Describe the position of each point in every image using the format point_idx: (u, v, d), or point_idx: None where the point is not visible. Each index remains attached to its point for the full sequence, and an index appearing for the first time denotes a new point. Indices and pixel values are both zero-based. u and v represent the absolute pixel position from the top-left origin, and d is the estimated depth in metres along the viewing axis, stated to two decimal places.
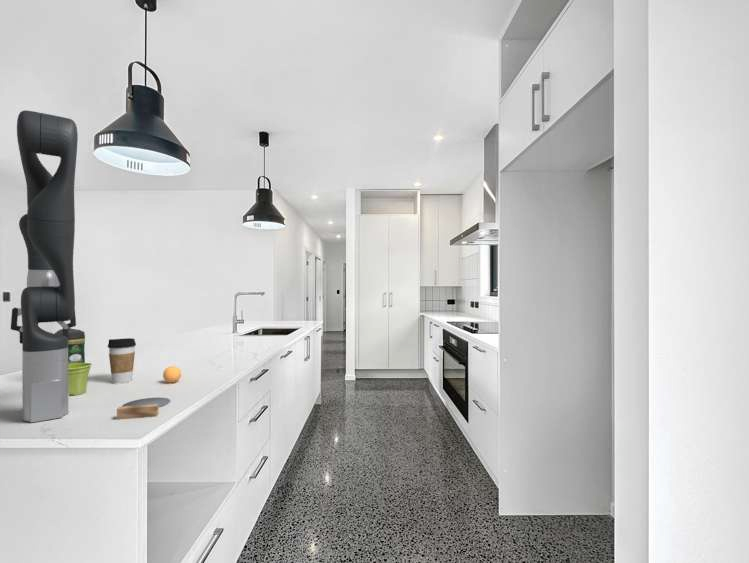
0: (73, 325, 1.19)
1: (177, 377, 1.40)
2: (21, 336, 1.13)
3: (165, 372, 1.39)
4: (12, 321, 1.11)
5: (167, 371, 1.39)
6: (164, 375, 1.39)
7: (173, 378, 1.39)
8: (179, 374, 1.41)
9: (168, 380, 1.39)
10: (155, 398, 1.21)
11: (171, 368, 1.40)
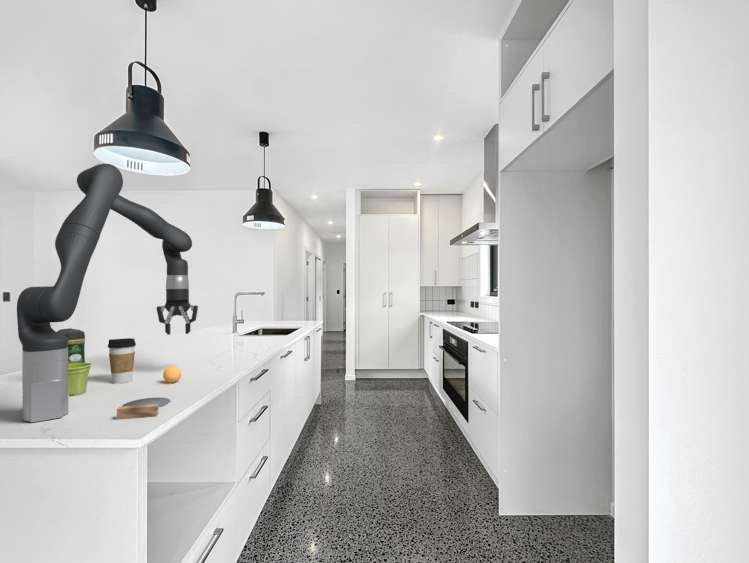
0: None
1: (177, 377, 1.40)
2: None
3: (165, 372, 1.39)
4: None
5: (167, 371, 1.39)
6: (164, 375, 1.39)
7: (173, 378, 1.39)
8: (179, 374, 1.41)
9: (168, 380, 1.39)
10: (155, 398, 1.21)
11: (171, 368, 1.40)
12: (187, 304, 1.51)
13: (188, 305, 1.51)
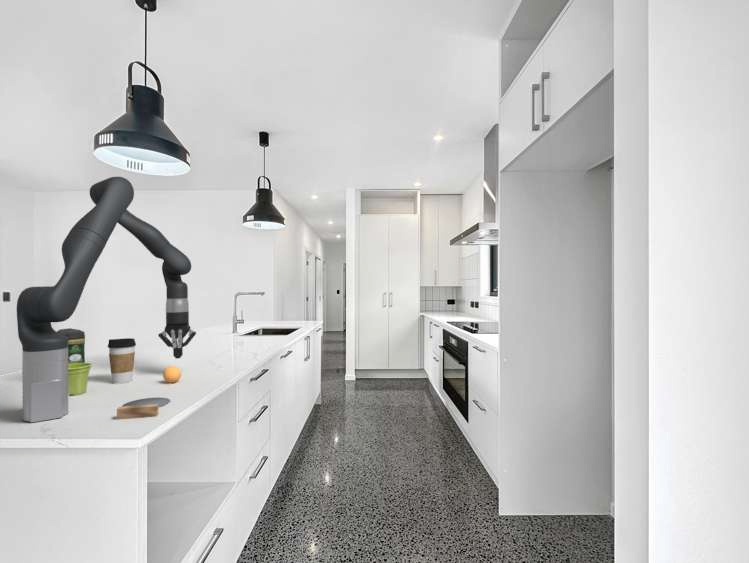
0: None
1: (177, 377, 1.40)
2: None
3: (165, 372, 1.39)
4: None
5: (167, 371, 1.39)
6: (164, 375, 1.39)
7: (173, 378, 1.39)
8: (179, 374, 1.41)
9: (168, 380, 1.39)
10: (155, 398, 1.21)
11: (171, 368, 1.40)
12: (187, 328, 1.51)
13: (188, 329, 1.51)
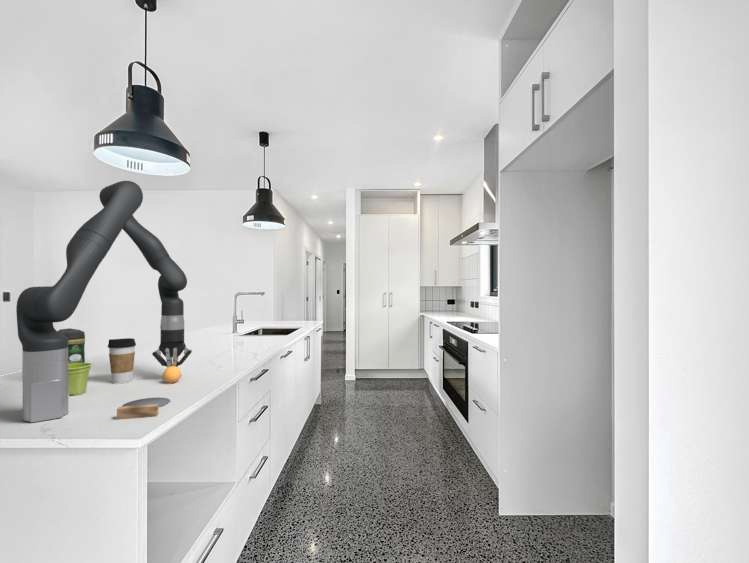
0: None
1: (177, 377, 1.40)
2: None
3: (165, 372, 1.39)
4: None
5: (167, 371, 1.39)
6: (164, 375, 1.39)
7: (173, 378, 1.39)
8: (179, 374, 1.41)
9: (168, 380, 1.39)
10: (155, 398, 1.21)
11: (171, 368, 1.40)
12: (183, 346, 1.45)
13: (183, 347, 1.45)
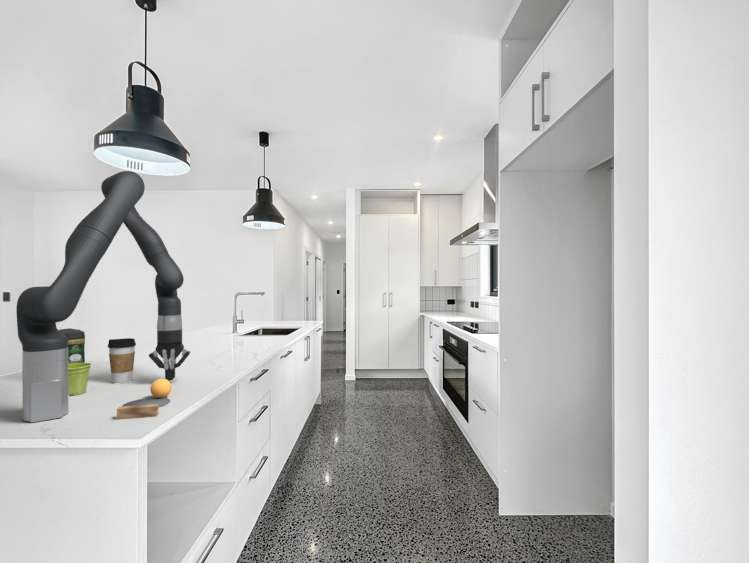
0: None
1: (167, 394, 1.22)
2: None
3: (152, 390, 1.20)
4: None
5: (154, 389, 1.20)
6: (152, 393, 1.20)
7: (162, 396, 1.21)
8: (169, 390, 1.22)
9: (157, 397, 1.21)
10: (155, 398, 1.21)
11: (159, 386, 1.20)
12: (181, 347, 1.39)
13: (181, 348, 1.39)
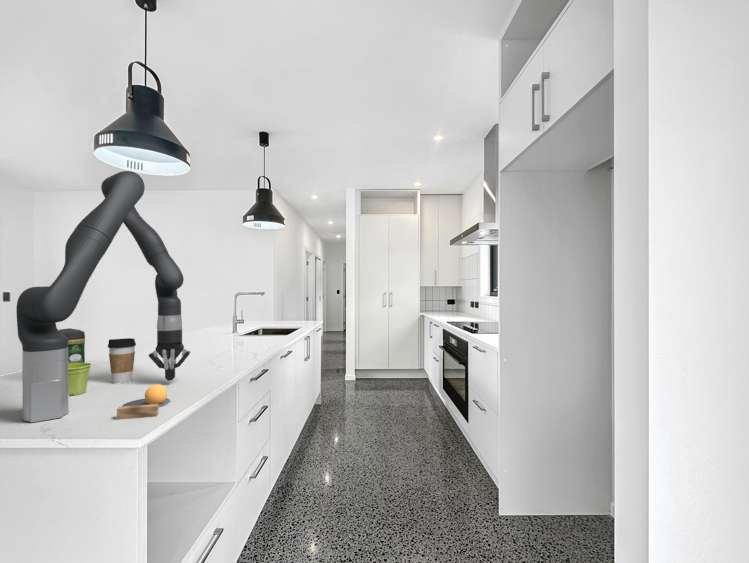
0: None
1: None
2: None
3: None
4: None
5: None
6: None
7: None
8: None
9: None
10: None
11: None
12: (181, 347, 1.39)
13: (181, 348, 1.39)
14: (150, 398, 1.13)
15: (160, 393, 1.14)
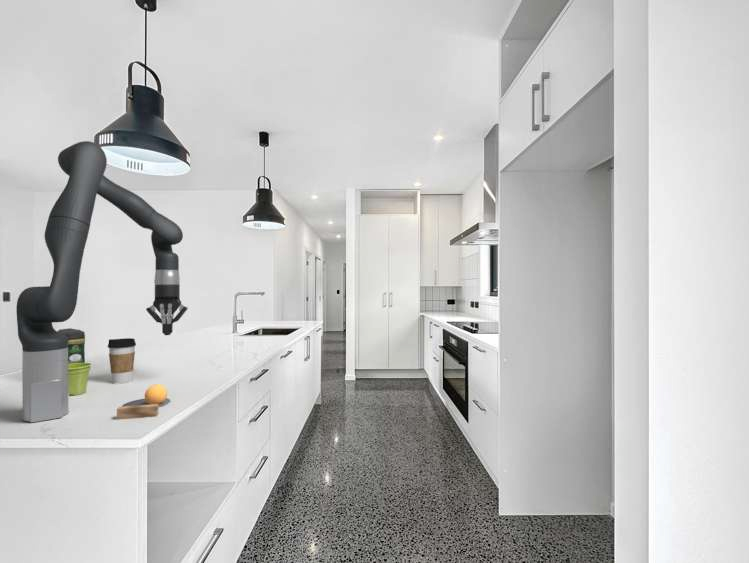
0: None
1: None
2: None
3: None
4: None
5: None
6: None
7: None
8: None
9: None
10: None
11: None
12: (178, 302, 1.39)
13: (178, 303, 1.39)
14: (150, 398, 1.13)
15: (160, 393, 1.14)
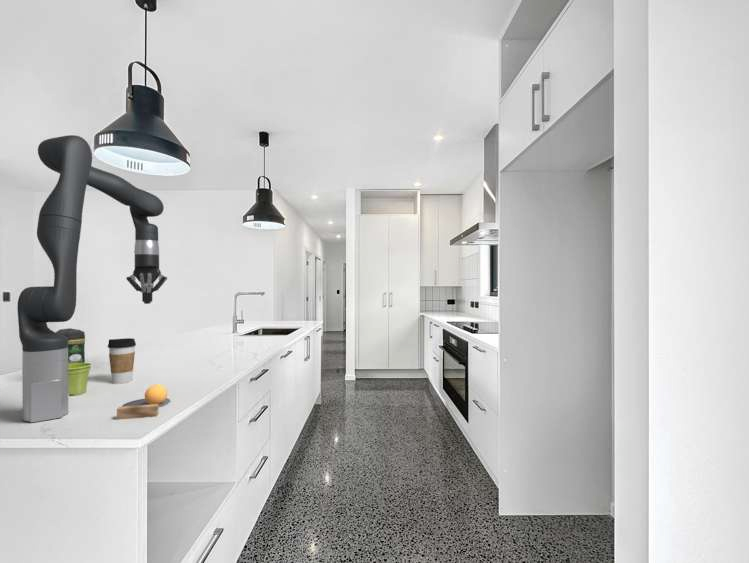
0: None
1: None
2: None
3: None
4: None
5: None
6: None
7: None
8: None
9: None
10: None
11: None
12: (157, 272, 1.44)
13: (158, 273, 1.44)
14: (150, 398, 1.13)
15: (160, 393, 1.14)
